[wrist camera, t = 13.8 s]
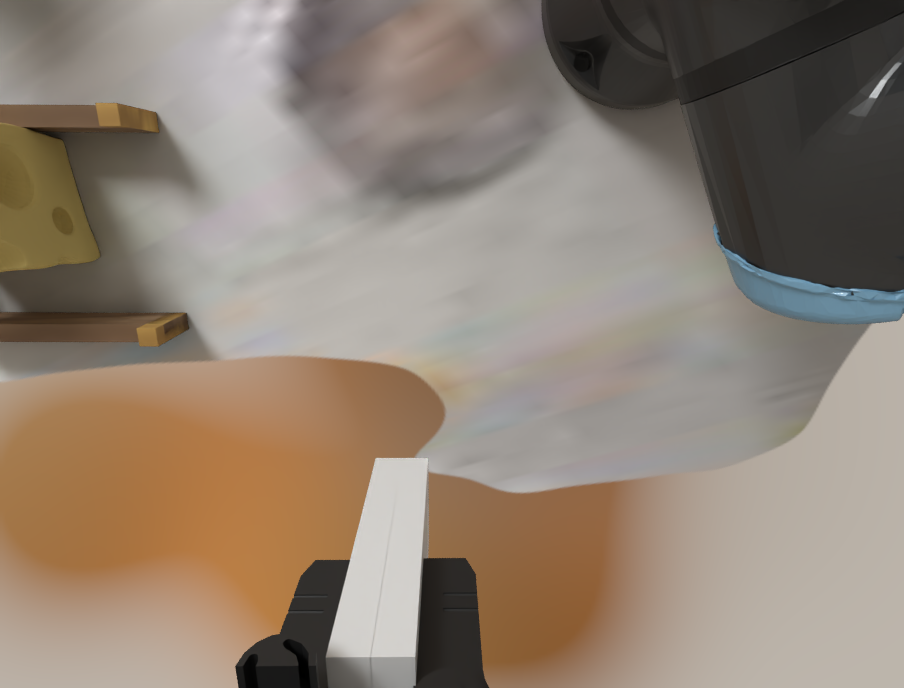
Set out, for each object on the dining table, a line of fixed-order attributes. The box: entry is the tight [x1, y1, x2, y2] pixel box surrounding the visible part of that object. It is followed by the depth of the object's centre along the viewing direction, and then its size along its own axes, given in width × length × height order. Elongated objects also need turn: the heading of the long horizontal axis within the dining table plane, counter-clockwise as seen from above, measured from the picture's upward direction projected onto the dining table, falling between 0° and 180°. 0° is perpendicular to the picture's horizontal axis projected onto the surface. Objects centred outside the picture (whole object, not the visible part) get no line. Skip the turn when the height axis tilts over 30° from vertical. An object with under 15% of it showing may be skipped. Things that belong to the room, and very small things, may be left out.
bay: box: [0, 103, 189, 346], centre depth 42 cm, size 18×20×5 cm
